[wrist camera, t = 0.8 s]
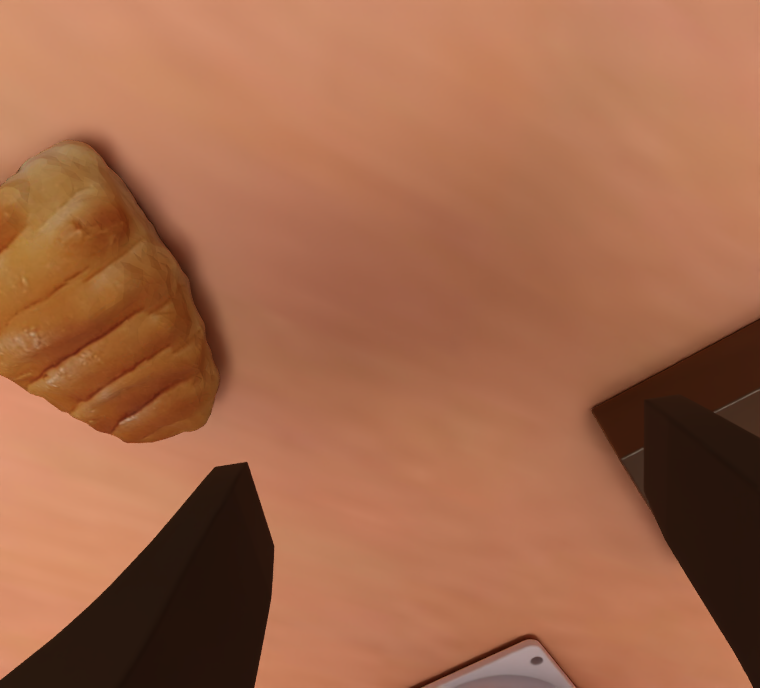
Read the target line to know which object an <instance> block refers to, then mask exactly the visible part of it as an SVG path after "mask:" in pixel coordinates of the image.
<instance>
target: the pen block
mask: <svg viewBox="0 0 760 688" xmlns="http://www.w3.org/2000/svg"><path fill="white" fill-rule="evenodd" d="M676 394H680V395H682V396H684V397H686V398H688V399H690V400H692V401H694V402H696V403H698V404H700V405H701V406H703V407H705V408H707V409H709V410H710V411H712V412H714V413H716V414H718V415H719V416H721V417H723V418H725V419H727V420H728V421H730V422H732V423H734V424H736V425H737V426H739V427H741V428H743V429H745V430H747V431H748V432H750V433H752V434H754V435H756V436H758V437H759V438H760V320H758V321H756V322H754V323H753V324H751V325H749V326H747V327H745V328H743V329H741V330H739V331H738V332H736V333H734V334H732V335H730V336H728V337H726V338H724V339H723V340H721V341H719V342H717V343H715V344H713V345H711V346H709V347H707V348H706V349H704V350H702V351H700V352H698V353H696V354H694V355H692V356H691V357H689V358H687V359H685V360H683V361H681V362H679V363H677V364H676V365H674V366H672V367H670V368H668V369H666V370H664V371H662V372H660V373H659V374H657V375H655V376H653V377H651V378H649V379H647V380H645V381H644V382H642V383H640V384H638V385H636V386H634V387H632V388H630V389H629V390H627V391H625V392H623V393H621V394H619V395H617V396H615V397H614V398H612V399H610V400H608V401H606V402H604V403H602V404H600V405H598V406H597V407H595V408H593V409H592V413H593V415H594V417H595V418H596V420H597V422H598V423H599V425H600V427H601V429H602V430H603V432H604V434H605V436H606V437H607V439H608V441H609V443H610V444H611V446H612V448H613V449H614V451H615V453H616V455H617V456H618V458H619V460H620V461H621V463H622V465H623V466H624V468H625V470H626V471H627V473H628V474H629V476H630V478H631V479H632V481H633V483H634V484H635V486H636V487H637V489H638V491H639V492H640V494H641V496H642V497H643V499H644V500H645V502H646V504H647V505H648V507H649V509H650V510H651V512H652V509H651V507H650V505H649V502H648V500H647V498H646V495H645V493H644V399H650V398H657V397H663V396H669V395H676ZM652 513H653V512H652ZM653 515H654V514H653ZM654 517H655V516H654Z"/></svg>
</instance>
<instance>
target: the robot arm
mask: <svg viewBox="0 0 760 688" xmlns="http://www.w3.org/2000/svg"><path fill="white" fill-rule="evenodd" d="M644 493H645V495H646V498H647V500H648V502H649V505H650V507H651V509H652V512H653V514H654V516H655V519H656V521H657V523H658V525H659V527H660V529H661V532H662V534H663V536H664V538H665V540H666V542H667V544H668V545H669V547H670V549H671V550H672V552H673V554H674V555H675V557H676V559H677V560H678V562H679V564H680V565H681V567H682V569H683V570H684V572H685V574H686V575H687V577H688V578H689V580H690V582H691V583H692V585H693V587H694V588H695V590H696V591H697V593H698V595H699V596H700V598H701V599H702V601H703V603H704V604H705V606H706V608H707V609H708V611H709V612H710V614H711V616H712V617H713V619H714V621H715V622H716V624H717V625H718V627H719V629H720V630H721V632H722V633H723V635H724V637H725V638H726V640H727V642H728V643H729V645H730V646H731V648H732V650H733V651H734V653H735V655H736V657H737V658H738V660H739V662H740V664H741V666H742V667H743V669H744V671H745V673H746V674H747V676H748V678H749V680H750V682H751V684H752V686H753V688H760V438H759V437H758V436H756V435H754V434H752V433H750V432H748V431H747V430H745V429H743V428H741V427H739V426H737V425H736V424H734V423H732V422H730V421H728V420H727V419H725V418H723V417H721V416H719V415H718V414H716V413H714V412H712V411H710V410H709V409H707V408H705V407H703V406H701V405H700V404H698V403H696V402H694V401H692V400H690V399H688V398H686V397H684V396H682V395H680V394H676V395H669V396H663V397H657V398H650V399H644ZM273 563H274V544H273V541H272V537H271V534H270V531H269V528H268V525H267V522H266V519H265V516H264V512H263V509H262V506H261V503H260V500H259V497H258V494H257V491H256V488H255V484H254V481H253V478H252V475H251V472H250V469H249V466H248V463H247V462H244V463H237V464H231V465H225V466H218V467H215V468H214V469H213V470H212V471H211V472H210V473H209V474H208V475H207V477H206V478H205V479H204V480H203V481H202V482H201V484H200V485H199V486H198V487H197V488H196V490H195V491H194V492H193V493H192V494H191V496H190V497H189V498H188V499H187V500H186V502H185V503H184V504H183V505H182V506H181V508H180V509H179V510H178V511H177V512H176V514H175V515H174V516H173V517H172V518H171V519H170V521H169V522H168V523H167V524H166V525H165V526H164V528H163V529H162V530H161V531H160V532H159V533H158V535H157V536H156V537H155V538H154V539H153V540H152V541H151V543H150V544H149V545H148V546H147V547H146V548H145V549H144V550H143V551H142V552H141V553H140V554H139V555H138V557H137V558H136V559H135V560H134V561H133V562H132V563H131V564H130V565H129V566H128V567H127V568H126V569H125V570H124V571H123V572H122V574H121V575H120V576H119V577H118V578H117V579H116V580H115V581H114V582H113V583H112V584H111V585H110V586H109V587H108V588H107V589H106V590H105V591H104V592H103V593H102V594H101V595H100V596H99V597H98V598H97V599H96V600H95V601H94V602H93V603H92V604H91V605H90V606H89V607H87V608H86V609H85V610H84V611H83V612H82V613H81V614H80V615H79V616H78V617H76V618H75V619H74V620H73V621H72V622H71V623H70V624H69V625H68V626H66V627H65V628H64V629H63V630H62V631H61V632H60V633H58V634H57V635H56V636H55V637H54V638H53V639H51V640H50V641H49V642H48V643H46V644H45V645H44V646H43V647H41V648H40V649H39V650H38V651H36V652H35V653H34V654H33V655H31V656H30V657H29V658H28V659H26V660H25V661H24V662H23V663H21V664H20V665H19V666H18V667H16V668H15V669H14V670H13V671H11V672H10V673H9V674H8V675H6V676H5V677H4V678H3V679H1V680H0V688H254V686H255V681H256V676H257V671H258V666H259V660H260V655H261V650H262V645H263V640H264V635H265V629H266V624H267V619H268V613H269V608H270V602H271V595H272V581H273ZM421 688H576V687H575V686H574V684H573V683H572V682H571V681H570V679H569V678H568V677H567V676H566V675H565V673H564V672H563V671H562V670H561V668H560V667H559V666H558V665H557V663H556V662H555V661H554V660H553V658H552V657H551V656H550V655H549V654H548V652H547V651H546V650H545V649H544V647H543V646H542V645H541V644H540V643H539V642H538V641H537V640H533V639H527V640H524V641H522V642H520V643H518V644H515V645H513V646H511V647H509V648H507V649H504V650H502V651H500V652H498V653H496V654H493V655H491V656H489V657H487V658H485V659H482V660H480V661H478V662H476V663H474V664H471V665H469V666H467V667H465V668H463V669H461V670H458V671H456V672H454V673H452V674H450V675H447V676H445V677H443V678H441V679H439V680H436V681H434V682H432V683H430V684H428V685H425V686H423V687H421Z"/></svg>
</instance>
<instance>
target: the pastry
mask: <svg viewBox="0 0 760 688" xmlns="http://www.w3.org/2000/svg"><path fill="white" fill-rule="evenodd" d="M0 375H2V376H4V377H6V378H8V379H10V380H11V381H13V382H15V383H16V384H18V385H19V386H21V387H22V388H23V389H25V390H26V391H28V392H29V393H30V394H34V395H36V396H40V397H43V398H44V399H46V400H47V401H48V402H49V403H51V404H52V405H54V406H55V407H57V408H58V409H59V410H61V411H63V412H67V413H69V414H70V415H71V416H72V417H74V418H76V419H78V420H80V421H83V422H85V423H87V424H89V425H90V426H91V427H92V428H94V429H95V430H97V431H100V432H103V433H108V434H111V435H114V436H116V437H118V438H120V439H121V440H122V441H124V442H126V443H147V442H155V441H159V440H163V439H166V438H169V437H173V436H175V435H177V434H180V433H182V432H191V431H195V430H197V429H199V428H201V427H202V426H204V424H205V423H206V422H207V420H208V418H209V416H210V414H211V411H212V407H213V403H214V399H215V395H216V393H217V390H218V386H219V382H220V376H219V372H218V369H217V367H216V365H215V363H214V361H213V357H212V352H211V349H210V347H209V345H208V344H207V342H206V335H205V324H204V322H203V320H202V318H201V317H200V315H199V313H198V311H197V309H196V307H195V305H194V303H193V299H192V295H191V290H190V281H189V279H188V277H187V276H186V275H185V274H184V272H183V271H182V270H181V268H180V266H179V264H178V262H177V261H176V259H175V258H174V256H173V255H172V253H171V252H170V251H169V250H168V249H167V247H166V246H165V244H164V243H163V242H162V240H161V239H160V238H159V236H158V234H157V232H156V230H155V228H154V226H153V224H152V223H150V222H149V221H148V219H147V218H146V216H145V214H144V212H143V211H142V210H141V208H140V207H139V206H138V204H137V202H136V200H135V198H134V197H133V195H132V194H131V192H130V191H129V190H128V188H127V186H126V185H125V183H124V182H123V181H122V179H121V178H120V177H119V176H118V175H117V174H116V173H115V172H114V171H113V170H112V169H110V168H109V167H108V166H107V164H106V163H105V161H104V160H103V159H102V157H101V156H100V155H99V154H98V153H97V152H96V151H95V150H94V149H93V148H92V147H91V146H90V145H88V144H86V143H84V142H80V141H74V140H64V141H62V142H59V143H57V144H55V145H53V146H52V147H50V148H48V149H46V150H44V151H42V152H40V153H39V154H37V155H35V156H34V157H32V158H30V159H28V160H27V161H26V162H25V163H24V164H23V165H22V166H21V167H20V169H19V170H18V172H17V173H16V174H15V175H13V176H12V177H10V178H8V179H7V180H6V182H5V183H4V184H2V185H1V186H0Z"/></svg>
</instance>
